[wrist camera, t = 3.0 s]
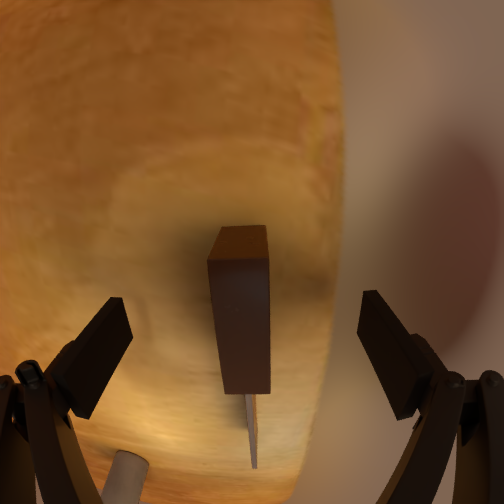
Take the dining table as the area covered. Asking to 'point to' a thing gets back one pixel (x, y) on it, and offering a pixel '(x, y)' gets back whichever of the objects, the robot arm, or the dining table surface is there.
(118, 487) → the grey cylinder
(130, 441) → the dining table surface
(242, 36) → the dining table surface
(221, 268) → the knife
